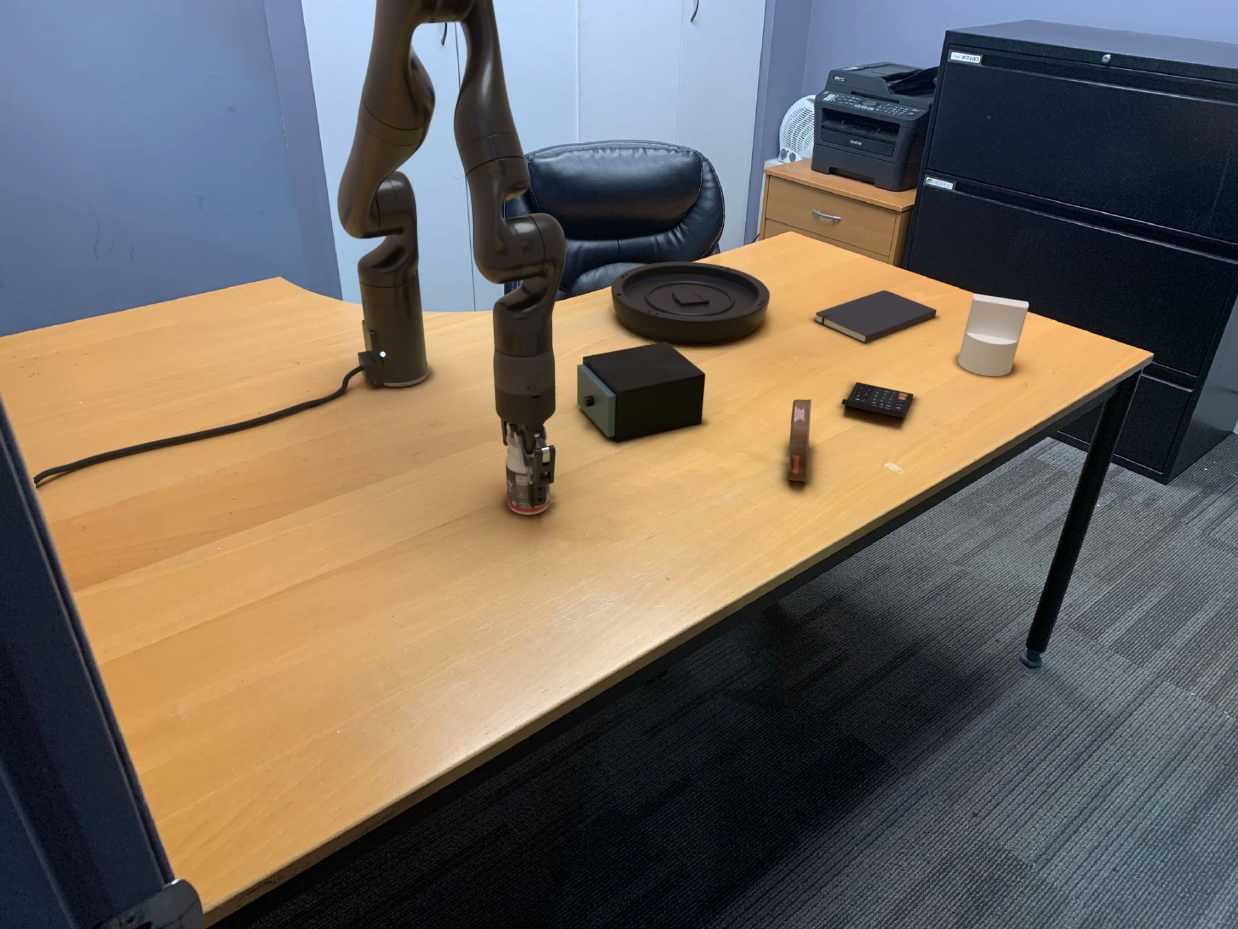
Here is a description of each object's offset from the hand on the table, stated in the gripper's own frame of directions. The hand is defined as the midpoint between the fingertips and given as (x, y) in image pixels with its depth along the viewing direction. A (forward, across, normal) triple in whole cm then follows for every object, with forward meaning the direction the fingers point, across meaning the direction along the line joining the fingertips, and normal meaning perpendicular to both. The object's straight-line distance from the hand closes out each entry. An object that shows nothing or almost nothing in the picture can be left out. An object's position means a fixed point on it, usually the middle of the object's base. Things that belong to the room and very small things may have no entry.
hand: (528, 491), depth 123 cm
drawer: (+1, -16, +23) cm, 28 cm away
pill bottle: (+2, 0, 0) cm, 2 cm away
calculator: (+2, -3, +61) cm, 61 cm away
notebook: (+2, -32, +84) cm, 90 cm away
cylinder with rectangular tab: (+2, -8, +89) cm, 89 cm away
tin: (+2, +6, +39) cm, 40 cm away
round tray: (+2, -47, +51) cm, 69 cm away
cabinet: (+2, -16, +25) cm, 30 cm away
